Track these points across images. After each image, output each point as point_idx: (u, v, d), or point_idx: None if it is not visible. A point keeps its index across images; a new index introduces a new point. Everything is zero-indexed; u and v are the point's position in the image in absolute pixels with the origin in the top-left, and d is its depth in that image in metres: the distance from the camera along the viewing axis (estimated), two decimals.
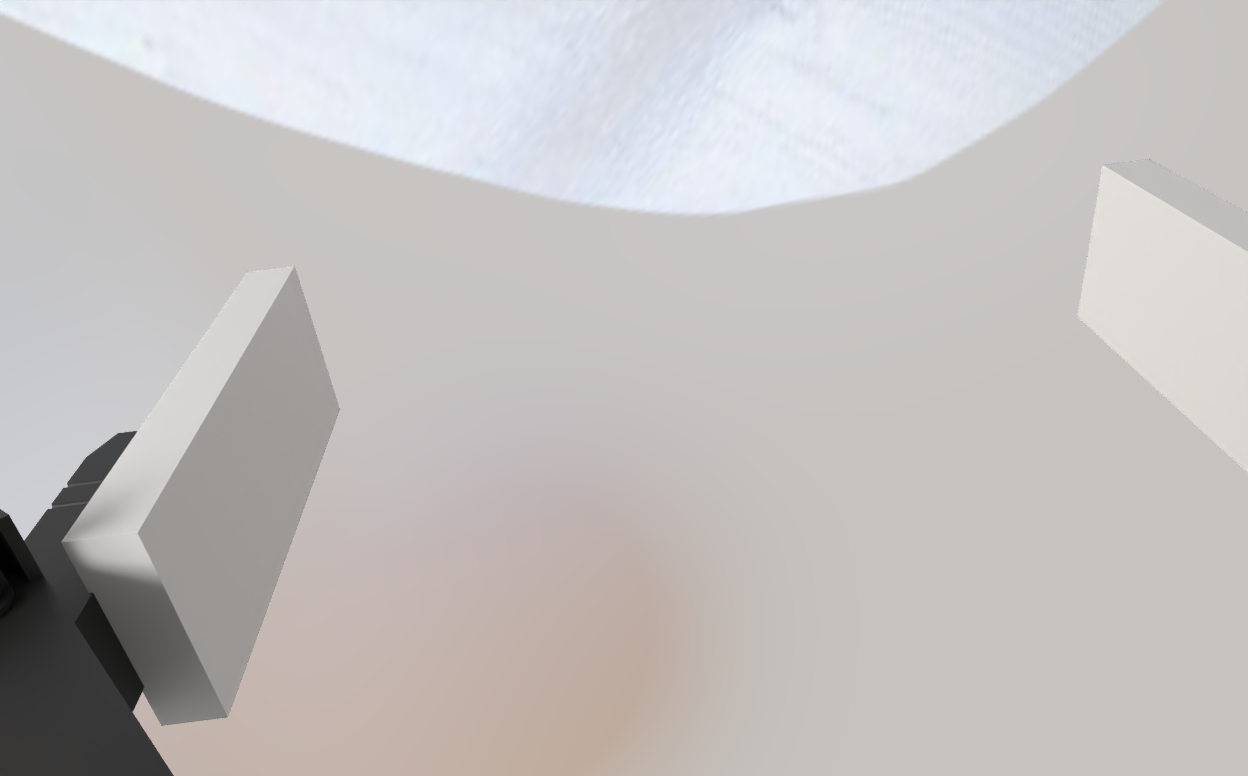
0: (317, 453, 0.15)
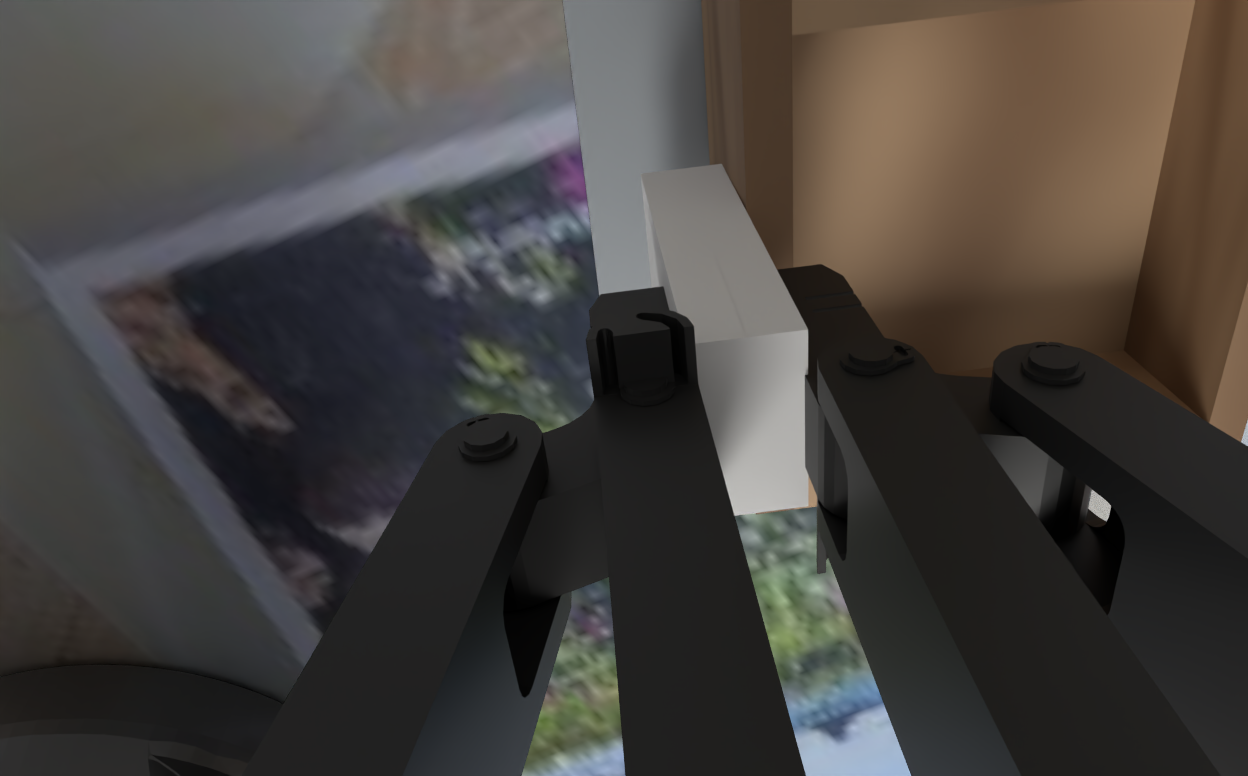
0: None
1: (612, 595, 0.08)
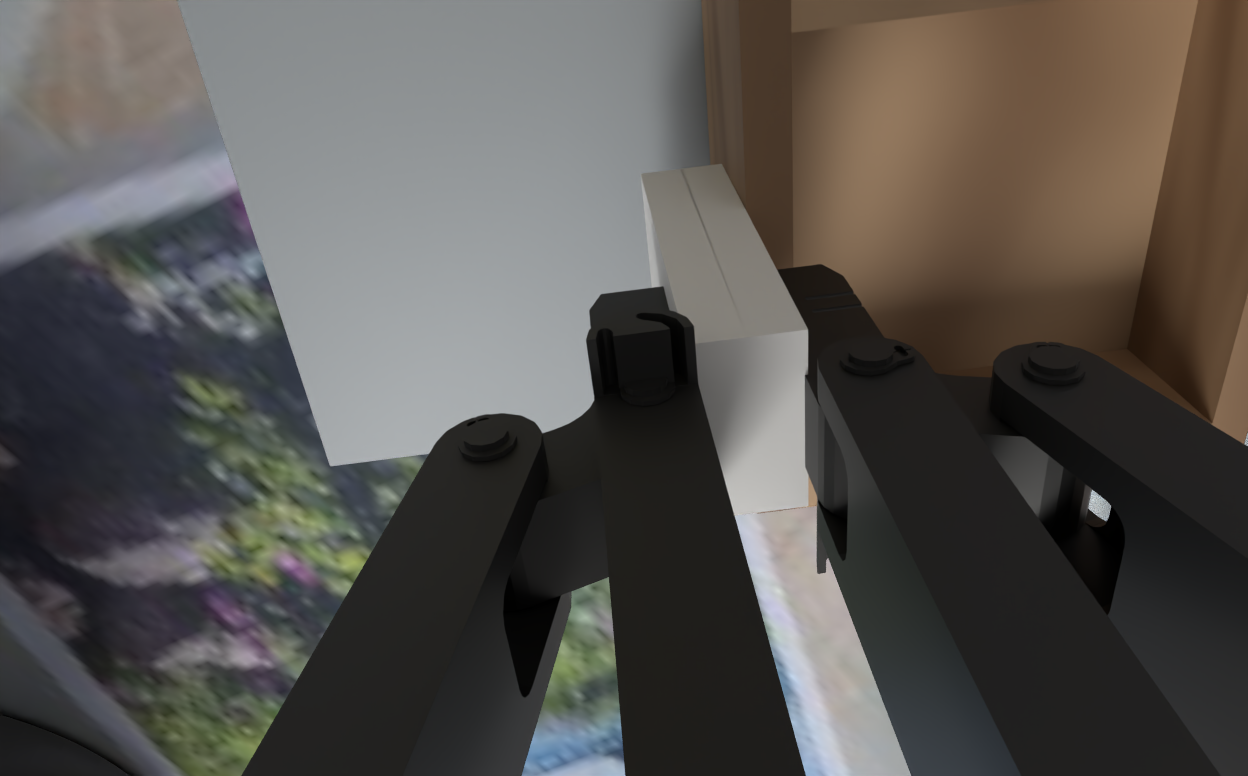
0: None
1: (612, 595, 0.08)
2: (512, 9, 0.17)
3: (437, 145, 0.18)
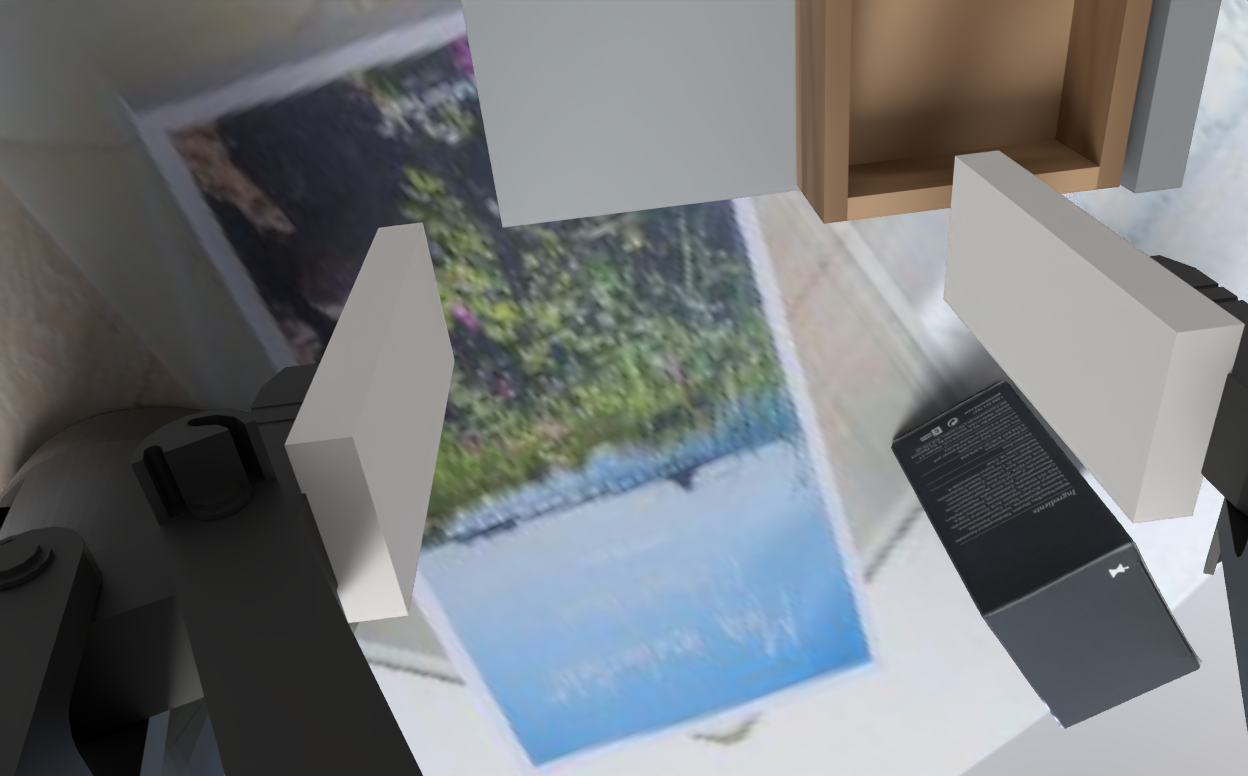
0: (444, 397, 0.16)
1: (218, 742, 0.07)
2: None
3: (587, 5, 0.29)
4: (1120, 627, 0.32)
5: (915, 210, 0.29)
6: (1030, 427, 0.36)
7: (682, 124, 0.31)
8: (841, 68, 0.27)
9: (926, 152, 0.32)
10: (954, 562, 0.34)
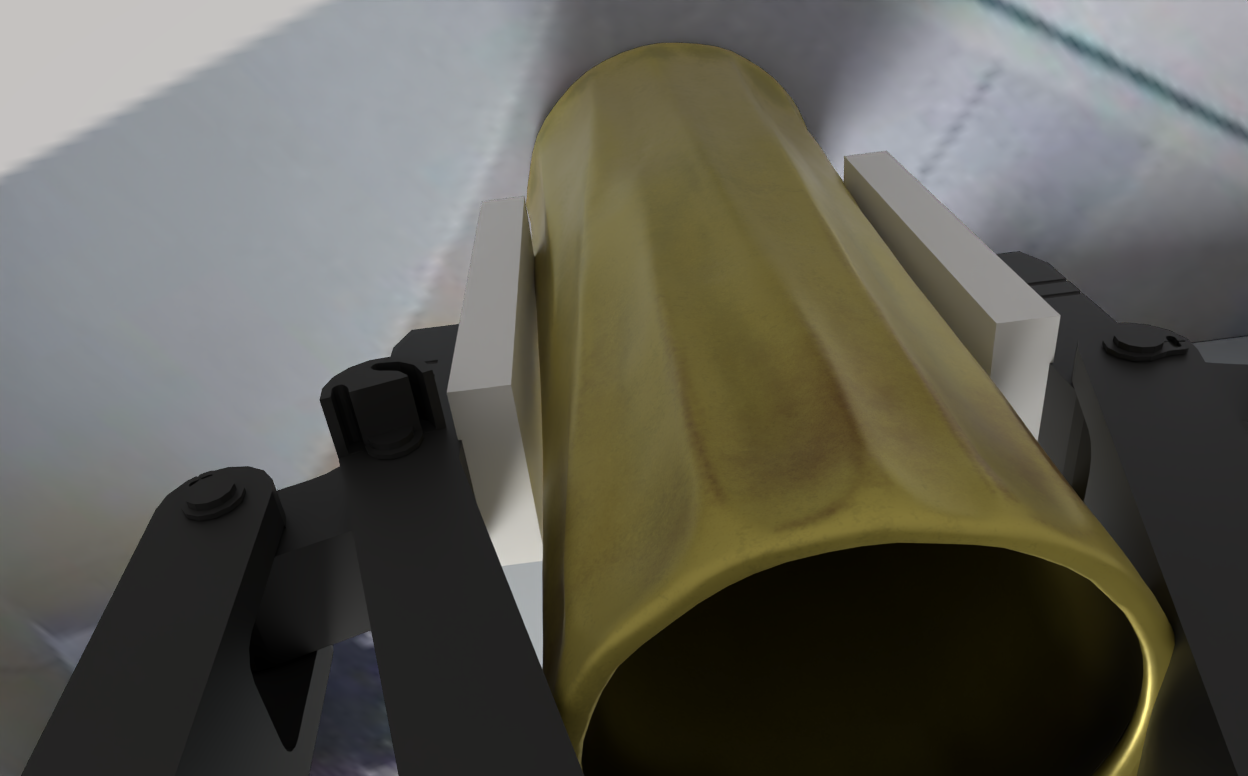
0: None
1: (379, 665, 0.07)
2: None
3: None
4: None
5: None
6: None
7: None
8: None
9: None
10: None
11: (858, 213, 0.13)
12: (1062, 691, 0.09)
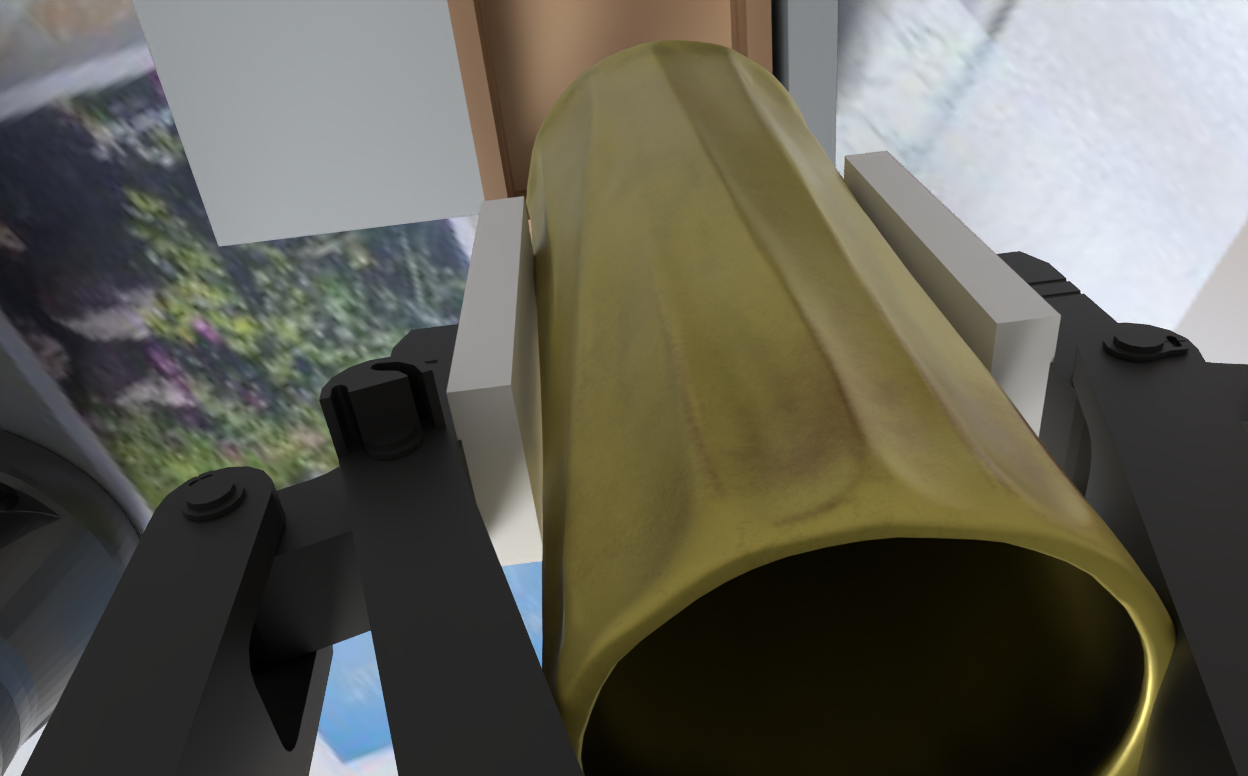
0: None
1: (379, 665, 0.07)
2: None
3: (266, 37, 0.31)
4: None
5: None
6: None
7: (378, 149, 0.33)
8: (481, 100, 0.28)
9: None
10: None
11: (858, 210, 0.13)
12: (1062, 688, 0.09)
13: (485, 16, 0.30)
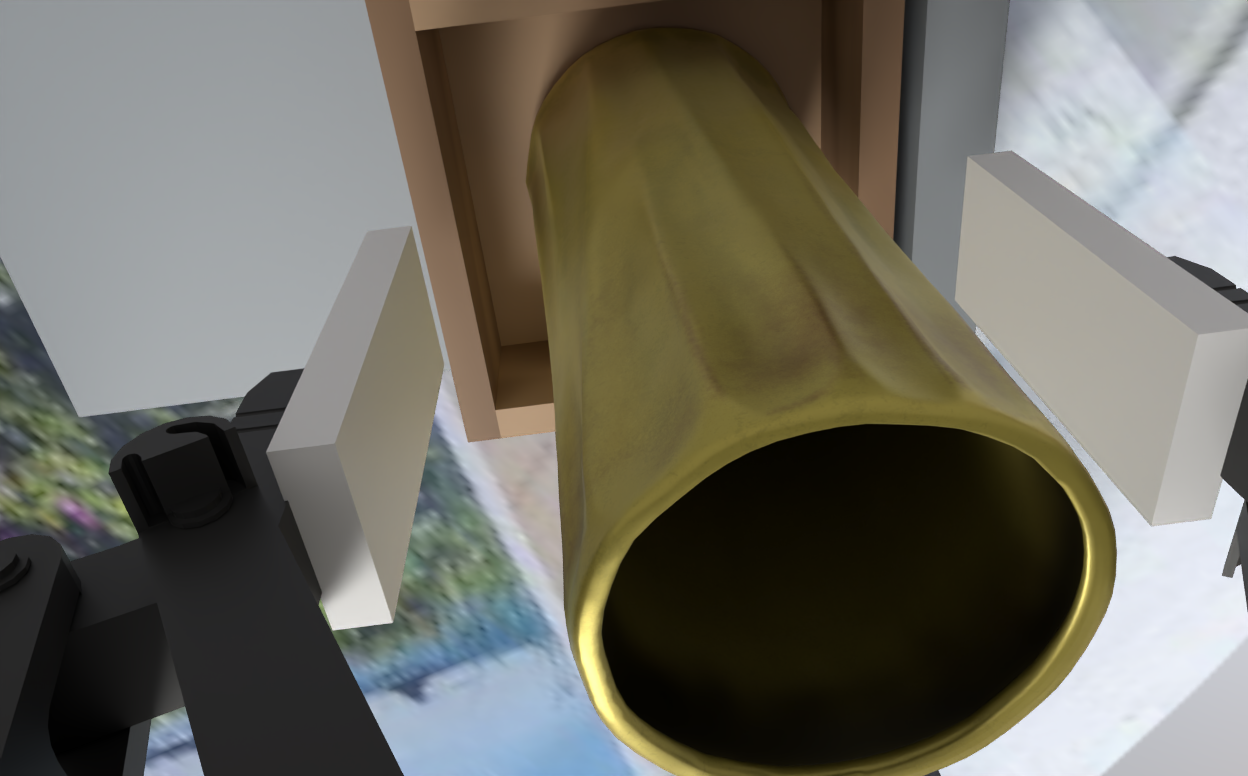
0: (433, 401, 0.16)
1: (200, 753, 0.07)
2: (170, 20, 0.20)
3: (125, 135, 0.21)
4: None
5: None
6: None
7: (300, 287, 0.23)
8: (446, 244, 0.18)
9: None
10: None
11: (837, 177, 0.15)
12: (1019, 580, 0.10)
13: (454, 106, 0.20)
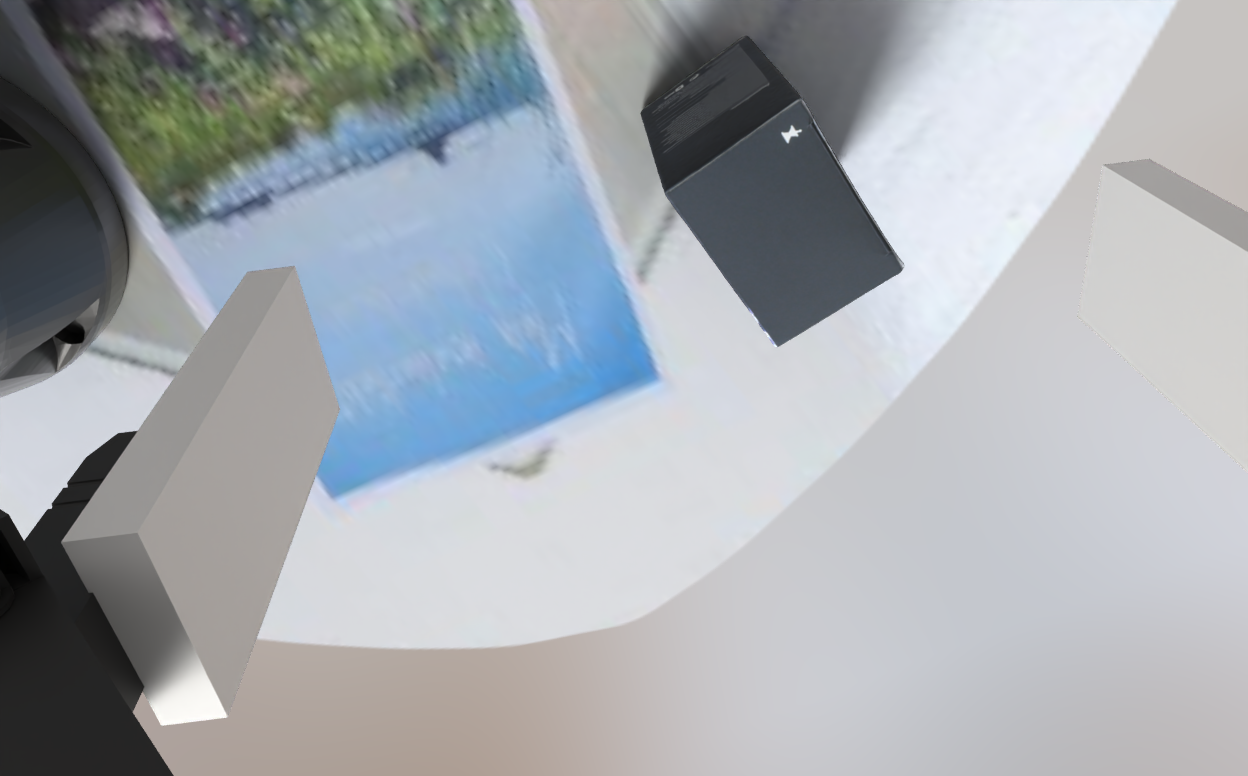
0: (317, 453, 0.15)
1: None
2: None
3: None
4: (807, 209, 0.32)
5: None
6: (752, 56, 0.36)
7: None
8: None
9: None
10: (657, 167, 0.34)
11: None
12: None
13: None
